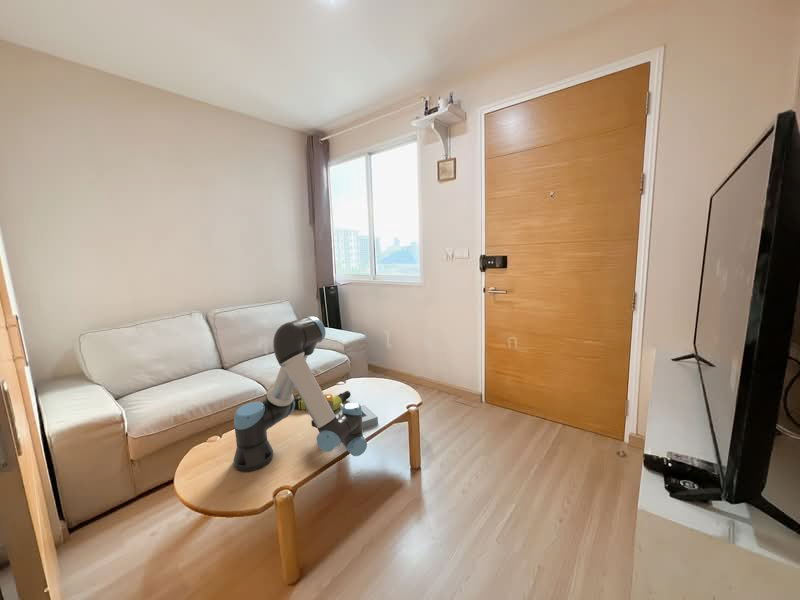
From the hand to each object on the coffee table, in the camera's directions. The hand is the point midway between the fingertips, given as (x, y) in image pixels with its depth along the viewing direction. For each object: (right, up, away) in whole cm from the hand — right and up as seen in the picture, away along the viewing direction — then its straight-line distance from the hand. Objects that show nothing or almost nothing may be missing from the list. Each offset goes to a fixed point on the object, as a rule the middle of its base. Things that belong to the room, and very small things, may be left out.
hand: (327, 409), depth 157 cm
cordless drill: (-8, -7, +28) cm, 30 cm away
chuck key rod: (+1, -11, 0) cm, 11 cm away
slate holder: (+13, -9, +9) cm, 18 cm away
